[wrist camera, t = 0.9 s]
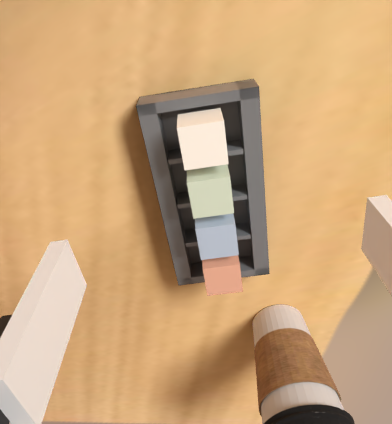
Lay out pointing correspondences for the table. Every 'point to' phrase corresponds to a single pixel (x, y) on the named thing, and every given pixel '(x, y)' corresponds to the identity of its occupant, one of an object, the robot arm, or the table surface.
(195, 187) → the key sage
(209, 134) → the key cream
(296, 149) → the table surface
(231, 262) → the key terracotta
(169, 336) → the table surface
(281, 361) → the coffee cup
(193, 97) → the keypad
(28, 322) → the robot arm
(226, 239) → the key slate
